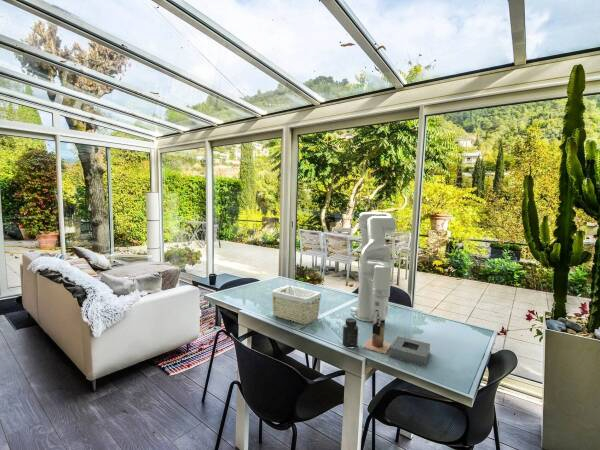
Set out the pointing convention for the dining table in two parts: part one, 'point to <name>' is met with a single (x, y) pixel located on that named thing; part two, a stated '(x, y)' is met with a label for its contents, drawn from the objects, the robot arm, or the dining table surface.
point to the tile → (381, 350)
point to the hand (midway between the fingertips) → (378, 330)
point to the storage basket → (296, 304)
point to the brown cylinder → (379, 337)
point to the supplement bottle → (350, 333)
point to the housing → (410, 350)
